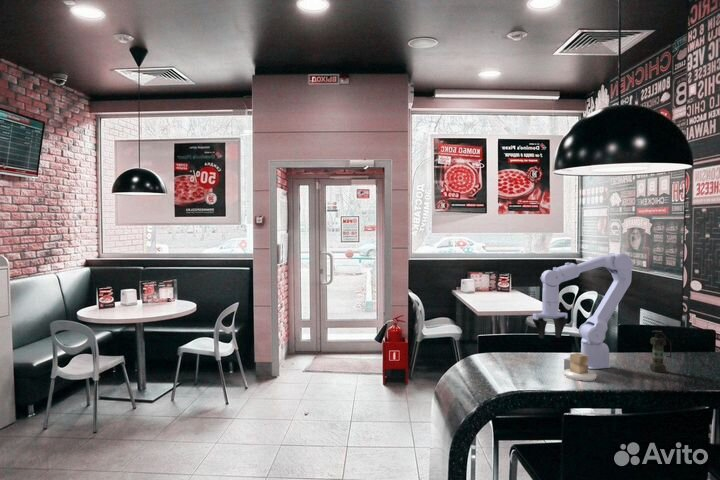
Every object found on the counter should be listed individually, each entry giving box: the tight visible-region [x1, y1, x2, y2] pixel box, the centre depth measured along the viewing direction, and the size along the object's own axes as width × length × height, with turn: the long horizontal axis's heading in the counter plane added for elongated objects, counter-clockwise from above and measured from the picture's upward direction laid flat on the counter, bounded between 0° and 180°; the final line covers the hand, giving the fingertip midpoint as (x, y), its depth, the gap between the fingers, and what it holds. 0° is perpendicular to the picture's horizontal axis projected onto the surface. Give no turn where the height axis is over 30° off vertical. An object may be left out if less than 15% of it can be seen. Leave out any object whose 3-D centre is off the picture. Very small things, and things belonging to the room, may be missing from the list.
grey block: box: [563, 357, 570, 371], centre depth 174 cm, size 4×4×4 cm
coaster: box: [563, 369, 597, 382], centre depth 165 cm, size 10×10×2 cm
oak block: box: [569, 352, 589, 374], centre depth 165 cm, size 4×4×6 cm
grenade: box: [649, 329, 672, 373], centre depth 173 cm, size 6×6×15 cm
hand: (549, 337), depth 180 cm, fingers open, 7 cm apart
